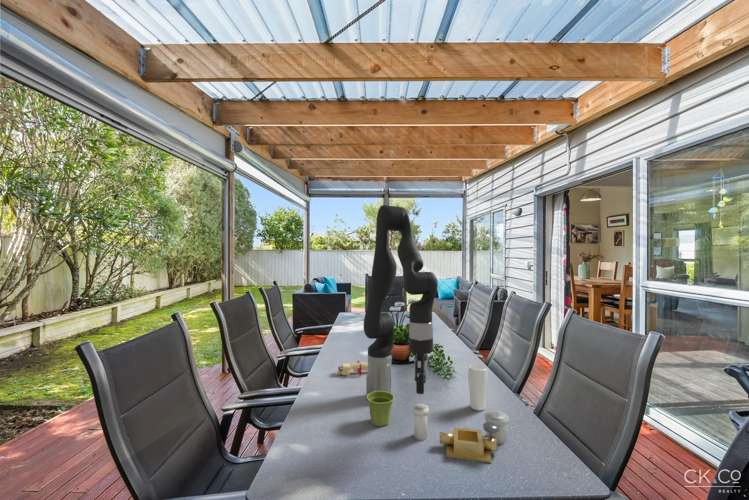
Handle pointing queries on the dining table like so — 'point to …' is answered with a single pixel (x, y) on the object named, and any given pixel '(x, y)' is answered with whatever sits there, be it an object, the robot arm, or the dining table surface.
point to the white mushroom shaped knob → (420, 421)
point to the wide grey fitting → (501, 421)
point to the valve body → (471, 443)
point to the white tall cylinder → (477, 386)
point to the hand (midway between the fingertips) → (421, 387)
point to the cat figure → (352, 368)
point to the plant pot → (380, 407)
